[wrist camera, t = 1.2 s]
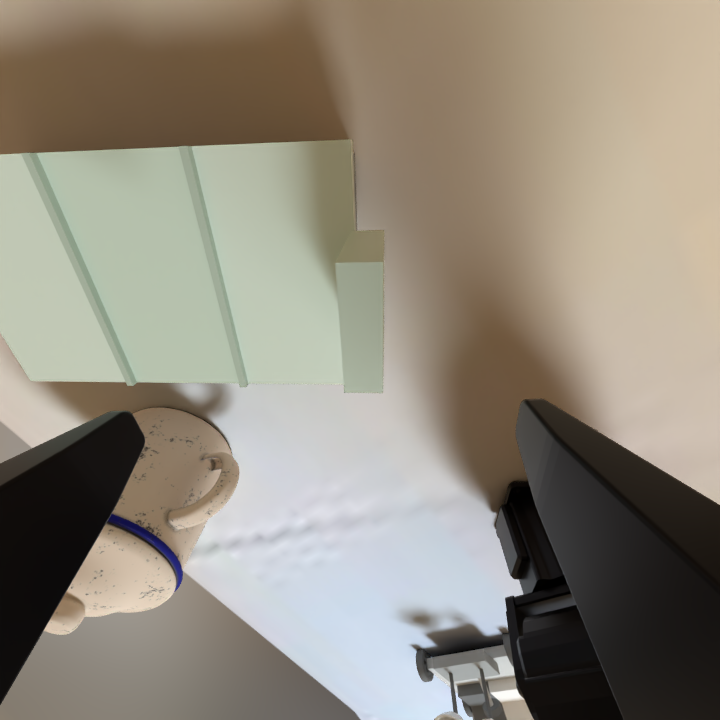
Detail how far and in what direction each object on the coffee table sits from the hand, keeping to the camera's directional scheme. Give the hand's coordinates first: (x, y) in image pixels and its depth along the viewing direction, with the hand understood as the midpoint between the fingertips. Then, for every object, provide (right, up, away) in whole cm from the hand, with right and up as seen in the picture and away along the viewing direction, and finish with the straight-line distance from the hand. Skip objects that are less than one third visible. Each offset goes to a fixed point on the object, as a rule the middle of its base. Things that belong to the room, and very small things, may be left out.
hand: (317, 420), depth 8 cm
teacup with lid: (-12, -5, +18) cm, 22 cm away
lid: (-7, +5, +7) cm, 11 cm away
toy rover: (+16, -35, +34) cm, 52 cm away
